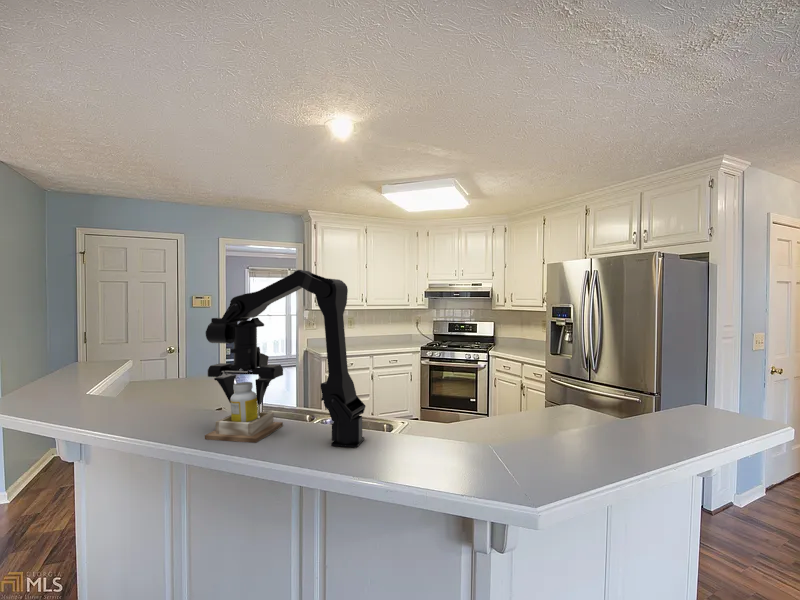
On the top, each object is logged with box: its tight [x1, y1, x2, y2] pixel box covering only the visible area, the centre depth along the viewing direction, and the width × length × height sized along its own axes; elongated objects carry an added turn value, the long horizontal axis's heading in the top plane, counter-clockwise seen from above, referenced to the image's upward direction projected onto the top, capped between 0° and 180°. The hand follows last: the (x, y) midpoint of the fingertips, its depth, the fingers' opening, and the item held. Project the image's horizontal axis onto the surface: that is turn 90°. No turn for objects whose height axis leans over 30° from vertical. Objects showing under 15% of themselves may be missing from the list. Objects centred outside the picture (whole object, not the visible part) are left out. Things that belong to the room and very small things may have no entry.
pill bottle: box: [230, 381, 259, 423], centre depth 112 cm, size 6×6×12 cm
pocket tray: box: [204, 411, 284, 444], centre depth 112 cm, size 14×14×4 cm
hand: (245, 403), depth 112 cm, fingers open, 8 cm apart
